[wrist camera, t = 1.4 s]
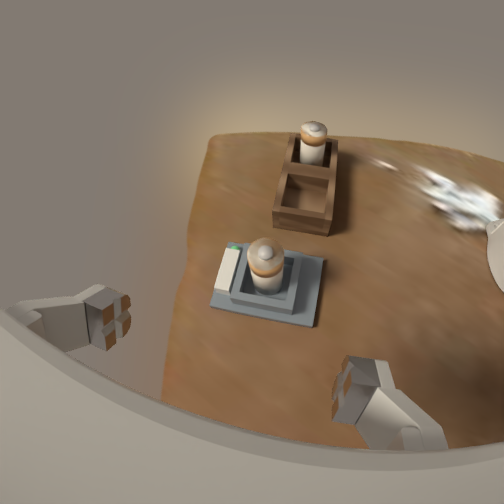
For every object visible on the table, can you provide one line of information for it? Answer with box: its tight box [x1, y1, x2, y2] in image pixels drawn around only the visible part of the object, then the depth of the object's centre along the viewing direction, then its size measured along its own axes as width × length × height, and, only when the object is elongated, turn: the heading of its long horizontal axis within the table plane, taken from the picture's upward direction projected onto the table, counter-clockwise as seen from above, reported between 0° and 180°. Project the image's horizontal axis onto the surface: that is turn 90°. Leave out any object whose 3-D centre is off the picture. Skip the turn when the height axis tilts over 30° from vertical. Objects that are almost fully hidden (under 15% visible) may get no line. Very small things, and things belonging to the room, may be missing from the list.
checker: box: [210, 242, 323, 328], centre depth 39 cm, size 10×14×4 cm
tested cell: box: [247, 238, 284, 296], centre depth 35 cm, size 4×4×9 cm
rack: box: [272, 133, 338, 236], centre depth 45 cm, size 18×8×4 cm, turn 167°
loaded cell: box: [300, 121, 327, 167], centre depth 44 cm, size 4×4×9 cm
